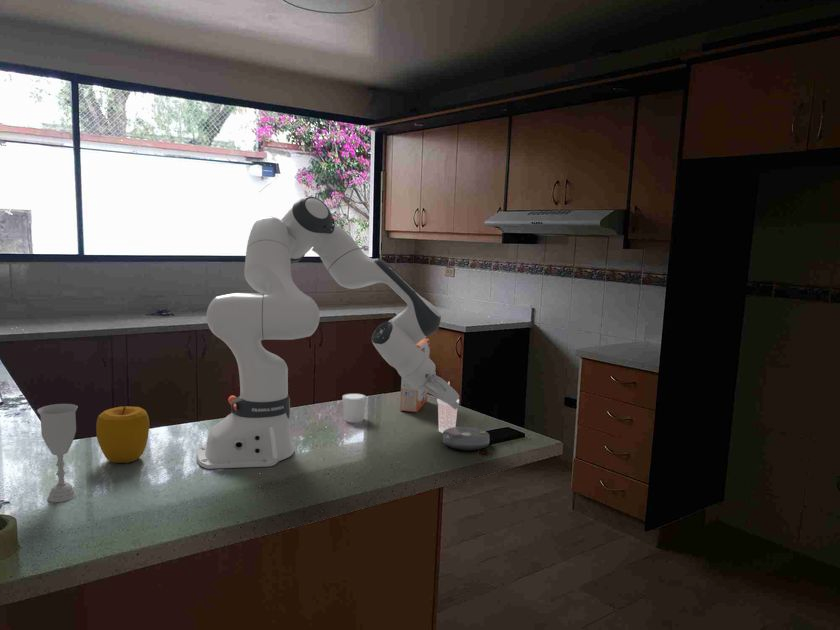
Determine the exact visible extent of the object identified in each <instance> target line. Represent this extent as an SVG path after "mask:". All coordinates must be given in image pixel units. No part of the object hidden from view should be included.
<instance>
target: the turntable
mask: <svg viewBox="0 0 840 630" xmlns="http://www.w3.org/2000/svg"><path fill="white" fill-rule="evenodd" d="M442 442H443V444H445V445H446V446H449V447H450V448H451V449H453V450H456V451H462V452H475V451H480V450H482V449H484V448H487V447H488V446H489V444H490V434H489V431H488V432H487V431H486V430H484V429H481V428H477V427H471V426H456V427H453V428H449V429H446V430H445V431H444V432H443V433H442ZM481 448H482V449H481Z"/></svg>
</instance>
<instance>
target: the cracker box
mask: <svg viewBox="0 0 840 630" xmlns="http://www.w3.org/2000/svg"><path fill="white" fill-rule="evenodd" d="M416 346H417V348H418V349H420V350H422V351H423V352H424V353H425V354H426V355H427V356H428V357H429V358H430V350H431V349H430V348H431V339H430V338H426V337H425V338H424V339H423V340H421V341H420V342H419V343H417V344H416ZM400 381H401V382H400V383H401V384H400V406H399V407H400V408H399V411H401V412H402V411H403V412H408V413H409V412H410V413H418V412H419V411H420V410H421V409H422V407H423V406H424V405H425V404H426V403H427V401H428V393H427V392H426V391H424V390H422V389H420V388H419V387H416V388H413V387H411V386H410V385H409V384H408V383H407V382H406V381H405V380H404V379H403V378H402V377H401V380H400Z"/></svg>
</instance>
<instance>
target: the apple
mask: <svg viewBox="0 0 840 630" xmlns="http://www.w3.org/2000/svg"><path fill="white" fill-rule="evenodd" d="M95 424H96V426H95V428H96V439H97V442H98V443H97V444H98V445H99V448H100V450H101V452H102V454H103V455H104V457H105V458H106V459H107V461H109V462H112V463H118V464H122V463H123V464H124V463H131V462H135V461H136V460H138V459H139V458H141V457H142V456H143V454H144V453H145V451H146V450H145V449H146V447H147V444H148V439H149V432H150V426H151V425H150V424H151V423H150V418H149V415H148V413H147V410H146V409H144V408H142V407H140V406H118V407H113V408H109V409H106V410H103V412H101V413H100V414H99V415H98V416H97V418H96V423H95Z"/></svg>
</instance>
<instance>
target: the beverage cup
mask: <svg viewBox="0 0 840 630" xmlns="http://www.w3.org/2000/svg"><path fill="white" fill-rule="evenodd" d="M450 382H451V381H448V382H447V383H448V384H449V385H450V384H451V383H450ZM450 386H451V385H450ZM456 402H457V403H458V404H459V405H460V398H459V399H458V400H457V401H456ZM436 403H437V414H438V415H437V416H438V417H437V418H438V420H437V421H438V423H437V424H438V432H439V433H441V434H443V432H444V431H445V430H446V429H449V428H453V427H457V426H456V425H457V416H458V408H457V409H456V410H455V409H453V408H452V407H451V406H450V405H448V404H447V403H445V402H443V401H441V400H440V399H438V398H436Z"/></svg>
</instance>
